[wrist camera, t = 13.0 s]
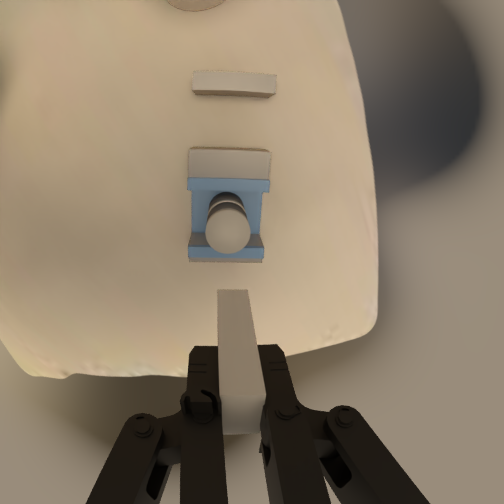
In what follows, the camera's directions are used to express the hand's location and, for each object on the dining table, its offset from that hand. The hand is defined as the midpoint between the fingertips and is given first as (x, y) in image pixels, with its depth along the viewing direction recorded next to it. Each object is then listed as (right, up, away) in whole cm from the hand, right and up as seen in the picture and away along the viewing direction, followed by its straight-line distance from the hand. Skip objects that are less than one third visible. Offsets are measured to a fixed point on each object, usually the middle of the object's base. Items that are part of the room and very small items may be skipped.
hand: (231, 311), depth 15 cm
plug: (-2, +8, +18) cm, 20 cm away
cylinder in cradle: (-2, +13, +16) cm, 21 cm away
